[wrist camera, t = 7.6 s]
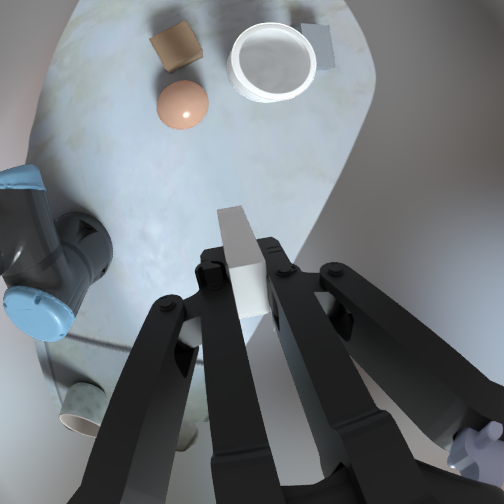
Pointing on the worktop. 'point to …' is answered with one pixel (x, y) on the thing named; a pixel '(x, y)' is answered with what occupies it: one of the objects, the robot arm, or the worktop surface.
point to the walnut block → (177, 47)
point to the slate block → (319, 43)
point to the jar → (271, 63)
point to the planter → (84, 408)
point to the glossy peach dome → (182, 104)
